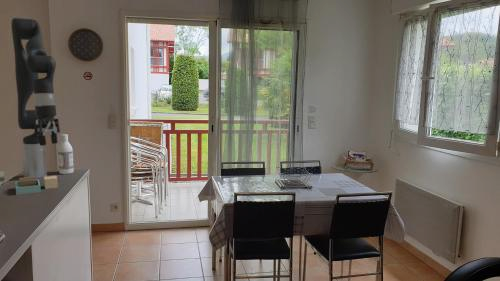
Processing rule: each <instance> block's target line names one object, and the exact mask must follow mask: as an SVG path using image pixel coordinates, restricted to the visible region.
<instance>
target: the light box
mask: <svg viewBox="0 0 500 281" xmlns="http://www.w3.org/2000/svg"><path fill="white" fill-rule="evenodd" d="M43 181H44V182H43V183H44V190H47V189H48V190H49V189H57V188H59V186H58V185H59V181H58V176H57V175H50V176H49V175H47V176H46V177H44V178H43Z"/></svg>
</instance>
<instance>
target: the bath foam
mask: <svg viewBox="0 0 500 281" xmlns="http://www.w3.org/2000/svg"><path fill="white" fill-rule="evenodd" d="M68 135H69V134H65V133H64V134H61V142H60V144H59V145H58V148H57V159H58V161H57V163H58V172H59V174H61V175H69V174H73V173H74V171H75V169H74V167H75V166H74V150H73V146H72V145H71V143H70V142H69V138H68V137H69V136H68Z"/></svg>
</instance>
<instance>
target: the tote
mask: <svg viewBox="0 0 500 281" xmlns="http://www.w3.org/2000/svg"><path fill="white" fill-rule="evenodd" d="M14 183H15V194H16V196H17V195H18V196H19V195H25V194H26V195H27V194H33V193H34V194H35V193H41V192H42V188H41V183H40V178H36V186H26V187H20V182H19V181H18V180H17V181H15V182H14Z"/></svg>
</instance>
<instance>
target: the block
mask: <svg viewBox="0 0 500 281" xmlns="http://www.w3.org/2000/svg"><path fill="white" fill-rule="evenodd" d="M18 180H19V182H20V187H26V186H36V180H37V178H35V176H34V177H19V179H18Z"/></svg>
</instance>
